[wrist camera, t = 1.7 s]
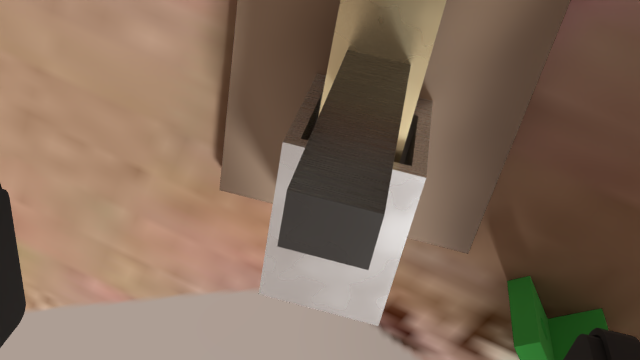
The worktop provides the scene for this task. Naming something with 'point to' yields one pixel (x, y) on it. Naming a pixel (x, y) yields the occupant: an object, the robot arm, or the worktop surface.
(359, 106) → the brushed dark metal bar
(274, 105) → the base board
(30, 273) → the worktop surface
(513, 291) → the pipe clamp
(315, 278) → the sleeve
